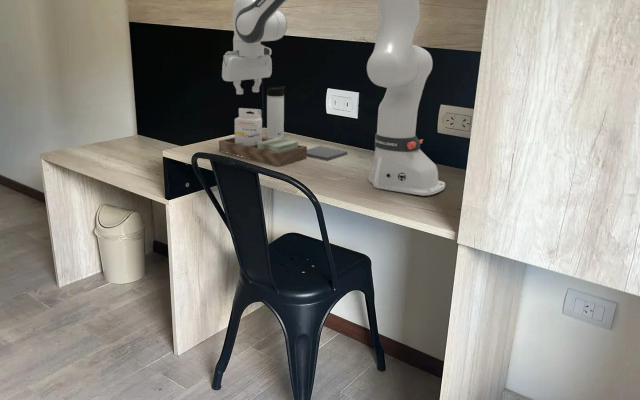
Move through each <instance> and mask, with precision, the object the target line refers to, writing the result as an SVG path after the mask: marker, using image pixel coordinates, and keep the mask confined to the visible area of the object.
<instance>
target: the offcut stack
mask: <svg viewBox="0 0 640 400" xmlns="http://www.w3.org/2000/svg"><path fill="white" fill-rule="evenodd" d="M298 145H299V141H295V140H290V139H286V138H283V139H280V138H274V139H270V140H267V141H263V142H259V143H258V148H259V149H263V150H268V151H272V152H277V153H281V152H285V151H288V150H292V149H296V148H298Z"/></svg>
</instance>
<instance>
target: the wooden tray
mask: <svg viewBox="0 0 640 400" xmlns="http://www.w3.org/2000/svg"><path fill="white" fill-rule="evenodd" d="M267 140H270V139H268V138H266V137H263V136H262V142H263V141H267ZM307 149H308V146H307V145H302V144H298V148H296V149H292V150H288V151H285V152H281V153H277V152H272V151H268V150H263V149H259V148H258V144H257V145H253V146H245V145H240V144H236V143H235V136H234V137H230V138H225V139H220V140H218V151H219V150H220V151H224V152H228V153H231V154H235V155H239V156H243V157H246V158H245V159H247V158H250V159H249V160H251V159H253V160H252V161H254V160H256V161H255V162H259V161H260V162H259V163H263V162H264V163H263V164H267V163H268V164H267V165H270V166H276V167H282V166H285V165H288V164H293V163H296V162H299V161H302V160H305V159H307V158H308V156H307ZM220 151H219V152H220ZM224 152H223V153H224ZM228 153H227V154H228ZM231 154H230V155H231ZM235 155H234V156H235ZM239 156H238V157H239ZM243 157H242V158H243Z"/></svg>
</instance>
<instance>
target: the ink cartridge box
mask: <svg viewBox="0 0 640 400" xmlns="http://www.w3.org/2000/svg"><path fill="white" fill-rule="evenodd" d="M249 112H251V113H249ZM234 137H235V143H236V144H240V145H245V146H253V145H257V144H258V143H259V142H262V137H263V118H262V110H261V109H258V108H246V107H245V108H244V107H239V108H238V117H236V118H234Z"/></svg>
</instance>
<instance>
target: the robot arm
mask: <svg viewBox="0 0 640 400" xmlns="http://www.w3.org/2000/svg"><path fill="white" fill-rule="evenodd" d="M288 1H289V0H235V1H234V3H233V8H232V28H233V34H234V35H233V39H232V43H233V44H232V46H233V50H232V51H231V50H230V51H229V50H228V51H226V52H225V54H224V55H223V61H222V67H221V68H222V70H221V78H222V80H223V81H225V82H233V83H232V84H233V86H234V87H235V90H236V91H235V93H236V95H243V94H244V88H242V87H241V84H242V81H246V80H253V82H254V84H253V86H252V87H251V88H252V89H251V91H252V93H259V92H260V86H261V84H262V79H265V78H271V75H272V73H273V71H272V70H273V67H272V66H273V63H272V62H273V61H272V58H271V55H272V49H271V48H270V47H267V46H265V45H263V44H262V43H261V42H271V41H273V42H274V41H278V40H281V39H282V38H283V37H284V36H285V34H286V32H287V29H288V22H287V18H286V16H285V15H284V13H283V12H282V11H280V8H281V7H283V5H284V4H286V3H287V2H288ZM377 11H378V12H377V13H378V15H377V16H378V27H377V34H376V39H375V44H374V48H373V52H372V53H371V55H370V57H369V58H368V61H367V64H366V73H367V76H368V78H369V80H370V81H371V82H372V83H373V84H374V85H376V86H378V87H383V88H386V92H385V94H384V97H383V98H382V100H381V101H380V103H379V106H378V110H377V111H378V112H377V113H378V114H377V123H376V124H377V125H376V126H377V127H376V129H377V130H376V133H375V134H374V135H375V136H374V156H373V161H372V168H371V171H370V173H369V176H368V181H369V183H371V185H372V186H373V187H374V188H375V189H381V190H386V191H392V192H398V193H403V194H404V193H405V194H410V195H416V196H417V195H418V196H423V197H424V196H431V195H435V194H437V193H440V192H442V191H443V190H444V189H445V188H446V183H445V182H444V181H442V180H439V171H438V167H437V165H436V164H435V162H433V161H432V160H431V159H430V158H429V157H428V156H427V155H426V154H425V153H424V152H423V151H422V149H420V148H421V144H423V141H424V139H423V138H422V139H419V138H418V137H417V135H416V131H417V130H416V129H417V120H418V119H417V118H418V110H419V105H420V101H421V98H422V95H423V90H424V88H425V84H426V82H427V79H428V77H429V75H430V74H431V72H432V70H433V58H432V55H431V53H430V52H429V51H427V50H426V49H425V48H423V47H421V46H418V45H415V44H413V43H414V37H415V32H416V28H417V27H418V25H419V23H420V20H421V18H420V17H421V16H420V0H377Z"/></svg>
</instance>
